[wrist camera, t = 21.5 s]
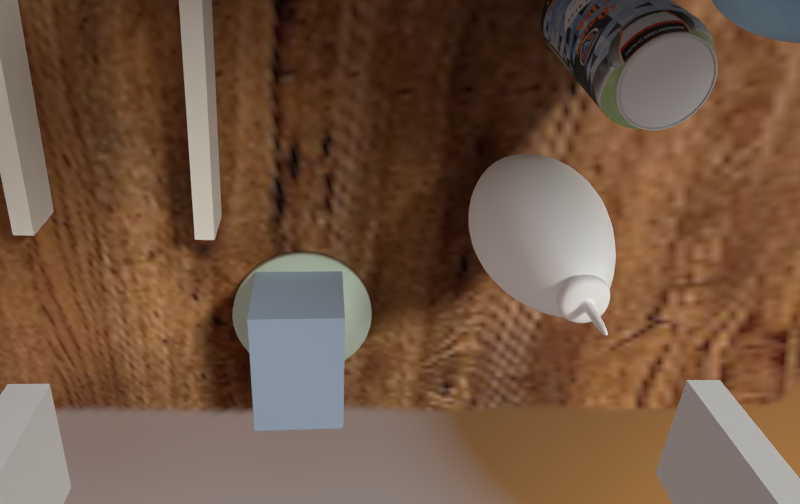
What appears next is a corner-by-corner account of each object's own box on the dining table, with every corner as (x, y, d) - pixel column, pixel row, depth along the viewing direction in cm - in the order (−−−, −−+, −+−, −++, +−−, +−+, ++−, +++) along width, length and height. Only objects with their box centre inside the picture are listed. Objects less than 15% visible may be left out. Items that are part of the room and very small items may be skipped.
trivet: (231, 249, 47) (229, 255, 46) (375, 252, 48) (375, 258, 47) (235, 366, 51) (234, 372, 51) (367, 366, 53) (367, 372, 52)
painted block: (255, 271, 47) (247, 319, 42) (342, 271, 48) (344, 318, 42) (261, 375, 51) (254, 430, 46) (340, 373, 52) (343, 427, 47)
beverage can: (624, -57, 40) (732, -38, 30) (640, 62, 44) (742, 116, 33) (522, -20, 41) (593, 10, 30) (547, 94, 44) (619, 158, 33)
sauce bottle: (545, 242, 49) (652, 408, 33) (442, 227, 48) (502, 393, 32) (580, 141, 46) (717, 272, 30) (469, 121, 44) (552, 248, 28)
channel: (-12, -38, 37) (-42, -32, 34) (210, -22, 39) (201, -14, 36) (34, 211, 44) (12, 235, 41) (221, 216, 46) (214, 240, 43)
